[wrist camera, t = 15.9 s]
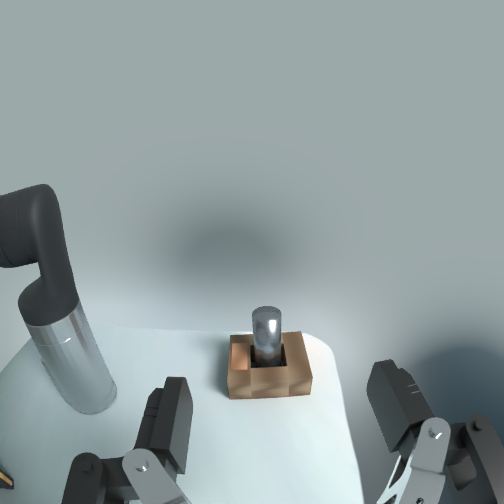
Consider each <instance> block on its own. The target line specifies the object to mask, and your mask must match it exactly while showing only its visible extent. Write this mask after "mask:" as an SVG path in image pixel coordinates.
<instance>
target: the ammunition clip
mask: <svg viewBox="0 0 504 504" xmlns="http://www.w3.org/2000/svg"><path fill="white" fill-rule="evenodd" d="M0 488H5V489H14V487H13V479H12V478H11V477H9V476H8V475H7V474H6V473H4V472H3V471H2V470H1V469H0Z"/></svg>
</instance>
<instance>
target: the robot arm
mask: <svg viewBox="0 0 504 504" xmlns="http://www.w3.org/2000/svg"><path fill="white" fill-rule="evenodd" d="M36 262H38V265H39V269H40V274H41V276H40V277H39V278H38V279H37V280H35V281H34V282H33V283H31V284H30V285H29V286H27V287H26V288H25V289H24V291H23V292H22V293H21V295H20V296H19V299H18V307H19V310H20V313H21V315H22V317H23V319H24V322H25V324H26V326H27V328H28V330H29V333H30V335H31V337H32V339H33V341H34V343H35V345H36V347H37V348H38V350H39V352H40V354H41V356H42V359H41V362H42V364H43V366H44V367H45V369H46V371H47V372H48V374H49V376H50V377H51V379H52V381H53V382H54V384H55V386H56V387H57V389H58V390H59V392H60V393H61V395H62V396H63V398H64V399H65V401H66V402H69V403H70V404H71V405H72V407H73V408H74V409H75V410H77V411H78V412H80V413H84V414H94V413H98V412H101V411H103V410H105V409H106V408H107V407H109V406H110V405H111V404H112V402H113V401H114V399H115V397H116V393H117V388H116V385H115V383H114V381H113V379H112V377H111V375H110V373H109V371H108V368H107V366H106V364H105V362H104V360H103V357H102V355H101V353H100V351H99V348H98V346H97V344H96V341H95V339H94V336H93V334H92V332H91V329H90V326H89V324H88V321H87V319H86V316H85V314H84V311H83V308H82V305H81V302H80V299H79V296H78V293H77V290H76V287H75V282H74V277H73V273H72V268H71V265H70V261H69V257H68V252H67V248H66V242H65V237H64V230H63V224H62V218H61V212H60V208H59V203H58V200H57V197H56V195H55V193H54V191H53V189H52V188H51V187H50V186H49V185H46V184H40V185H35V186H31V187H28V188H24V189H21V190H18V191H15V192H11V193H8V194H5V195H1V196H0V267H3V268H13V267H19V266H23V265H28V264H32V263H36ZM367 396H368V399H369V401H370V403H371V406H372V408H373V411H374V413H375V416H376V418H377V420H378V423H379V426H380V428H381V431H382V433H383V436H384V438H385V441H386V443H387V446H388V449H389V451H390V453H392V452H395V451H398V450H399V452H400V456H399V458H398V461H397V463H396V466H395V468H394V471H393V473H392V475H391V478H390V481H389V483H388V485H387V487H386V489H385V491H384V493H383V494H382V496H381V497H380V499H379V500H378V502H377V503H376V504H438V502H439V498H440V495H441V492H442V489H443V486H444V482H445V479H446V482H447V485H448V488H449V491H450V494H451V496H452V500H453V503H454V504H504V448H503V446H502V444H501V442H500V440H499V438H498V436H497V434H496V432H495V430H494V428H493V426H492V424H491V423H490V421H489V419H488V418H487V417H486V416H484V415H482V414H474V415H472V416H470V417H469V418H468V420H467V421H466V422H464V423H454V424H448V423H447V422H446V421H445V420H443V419H441V418H436V417H435V416H434V415H433V413H432V411H431V409H430V408H429V406H428V404H427V402H426V401H425V399H424V397H423V395H422V393H421V392H420V391H419V388H418V386H417V385H416V384H415V381H414V380H413V378H412V376H411V375H410V374H409V373H408V372H407V371H405V370H404V369H403V368H400V369H398V368H397V367H396V365H395V363H394V361H393V360H391V359H389V360H385V361H380V362H375V363H374V365H373V368H372V371H371V374H370V377H369V380H368V383H367ZM192 414H193V401H192V397H191V394H190V390H189V387H188V384H187V380H186V378H185V377H167V378H166V381H165V385H164V388H156V389H155V390H154V391H153V392H152V393H151V394H150V396H149V397H148V401H147V404H146V409H145V411H144V417H143V418H142V422H141V425H140V429H139V432H138V436H137V440H136V444H135V446H134V448H133V450H131V451H129V452H128V453H127V454H126V455H125V456H123V457H120V458H110V459H100V458H99V457H98V456H96V455H95V454H92V453H81V454H79V455H77V456H76V457H75V458H74V460H73V462H72V465H71V468H70V472H69V475H68V479H67V483H66V487H65V491H64V495H63V499H62V503H61V504H129V500H139V499H140V500H141V501H142V503H143V504H192V503H191V502H190V501H189V500H188V498H187V497H186V496H185V495H184V493H183V492H182V491H181V489H180V488H179V487H178V485H177V484H176V477H177V474H185V467H186V459H187V451H188V443H189V436H190V428H191V421H192ZM469 455H470V456H469ZM470 457H471V458H470ZM472 462H473V463H472ZM474 467H475V468H474ZM475 469H476V470H475ZM442 471H443V473H444V474H443V473H442Z"/></svg>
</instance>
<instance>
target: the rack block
mask: <svg viewBox="0 0 504 504" xmlns="http://www.w3.org/2000/svg"><path fill="white" fill-rule="evenodd" d="M281 361H283V364H284V366H283V367H267V368H251V362H255V353H254V337H253V334H247V335H230V348H229V362H228V376H227V385H228V392H229V398H230V399H259V398H277V397H290V396H301V395H310V392H311V385H312V379H313V377H312V373H311V369H310V365H309V361H308V357H307V353H306V349H305V345H304V341H303V337H302V333H301V331H299V332H285V333H281Z"/></svg>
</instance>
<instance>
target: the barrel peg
mask: <svg viewBox="0 0 504 504" xmlns="http://www.w3.org/2000/svg"><path fill="white" fill-rule="evenodd" d="M252 322H253V337H254V353H255V368H267V367H281V312H280V310H279V309H277V308H275V307H272V306H263V307H259V308H257V309H255V310H254V311H253V313H252Z"/></svg>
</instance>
